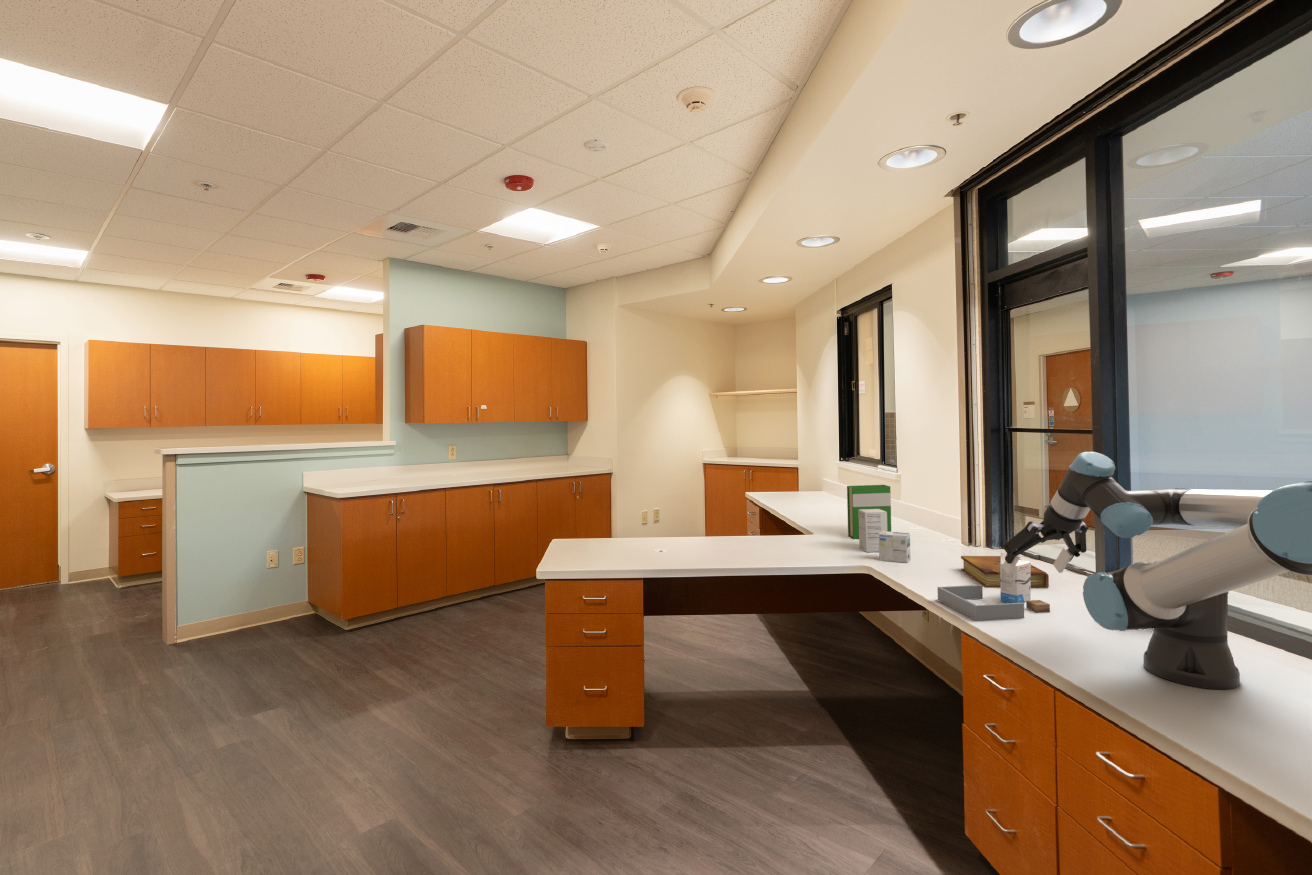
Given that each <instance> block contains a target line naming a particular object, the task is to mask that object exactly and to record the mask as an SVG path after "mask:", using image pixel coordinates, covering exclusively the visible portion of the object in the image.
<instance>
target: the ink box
mask: <svg viewBox="0 0 1312 875" xmlns="http://www.w3.org/2000/svg"><path fill="white" fill-rule="evenodd" d="M1006 555H1007V553H1006V551H1005V550H1004V551H1001V552H1000V556H1001V557H1000V558H1001V559H1000V588H999V589H1000V590H999V591H1000V593H999V594H1000V602H1001V603H1024V604H1025V603H1026V601H1029V600H1032V599H1031V594H1032V593H1031V592H1032V591H1031V589H1032V588H1031V578H1030V570H1031V569H1030V568H1031V565H1032V563H1031V561H1029V560H1023V559H1021V560H1018V562H1017V564H1016V566H1015V567H1014V569H1013V571H1012V573H1011V574H1007V572H1006V571H1005V569H1004V568H1003V564H1004V562H1005V556H1006Z"/></svg>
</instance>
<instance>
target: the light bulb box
mask: <svg viewBox="0 0 1312 875" xmlns="http://www.w3.org/2000/svg"><path fill="white" fill-rule="evenodd" d="M878 555H879V556H878V557H879V558H878V560H879V561H883V562H885V561H886V562H894V563H904V564H905V563H906V564H908V563H909V561H911V559H912V558H911V534H910V532H903V531H902V532H900V531H891V532H887V531H882V532H880V533H879V552H878Z"/></svg>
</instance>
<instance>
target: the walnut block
mask: <svg viewBox="0 0 1312 875" xmlns="http://www.w3.org/2000/svg"><path fill="white" fill-rule="evenodd" d="M1025 603H1026V604H1025V605H1026V609H1027V610H1028V611H1031V612H1033V613H1035V614H1041V613H1051V610H1050V609H1051V605H1050V603H1049V602H1046V601H1043V600H1041V599H1031V600H1029V601H1026V602H1025Z"/></svg>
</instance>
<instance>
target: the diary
mask: <svg viewBox="0 0 1312 875" xmlns="http://www.w3.org/2000/svg"><path fill="white" fill-rule="evenodd" d="M1000 557H1001V555H961V556H960V559H961V560H962V562H963V568H960V570H961V571H962V572H963V573H965V574H967V575H968V576H969V577H970V578H972V579H973V580H974V581H976V582H977V583H979V585H982V587H983V588H991V589H993V588H999V589H1000V559H1001V558H1000ZM1005 557H1006V555H1005ZM1019 560H1022V559H1021V558H1019ZM1030 569H1031V570H1030V578H1031V589H1048V588H1049V587H1050V586H1049V585H1050V583H1049V582H1050V579H1049V574H1048V573H1047V572H1046V571H1044V570H1042V569H1040V568H1038V567H1036V566H1035V565H1032V564H1031V568H1030Z"/></svg>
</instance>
